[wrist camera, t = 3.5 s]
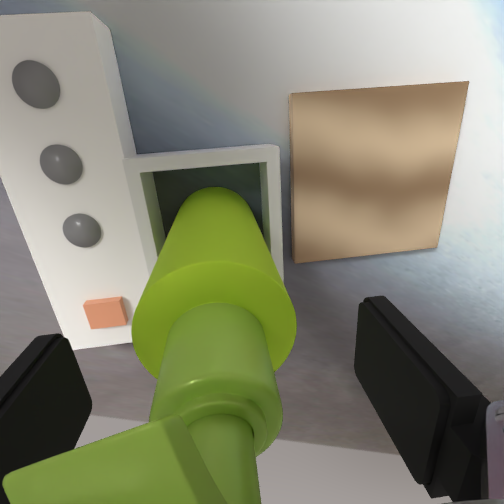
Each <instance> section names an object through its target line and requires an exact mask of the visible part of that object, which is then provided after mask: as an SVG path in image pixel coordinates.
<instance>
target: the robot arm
mask: <svg viewBox="0 0 504 504" xmlns="http://www.w3.org/2000/svg"><path fill="white" fill-rule="evenodd" d="M354 369H355V373H356V376H357V378H358V380H359V382H360V383H361V385H362V387H363V389H364V391H365V392H366V394H367V396H368V398H369V399H370V401H371V403H372V405H373V407H374V408H375V410H376V412H377V414H378V416H379V417H380V419H381V421H382V423H383V424H384V426H385V428H386V430H387V432H388V433H389V435H390V437H391V439H392V441H393V442H394V444H395V446H396V448H397V450H398V451H399V453H400V455H401V457H402V458H403V460H404V462H405V464H406V466H407V467H408V469H409V471H410V473H411V474H412V476H413V478H414V479H415V481H416V482H417V483H418V484H423V485H424V487H425V488H426V490H427V492H428V494H429V496H430V497H431V498H436V497H443V496H449V497H450V498H451V500H452V501H453V502H451V503H444V504H504V400H500V401H496V402H492V403H490V402H489V401H488V400H487V399H486V398H485V397H484V396H483V395H482V393H481V392H480V391H479V390H478V389H477V388H476V387H475V386H474V385H473V384H472V383H471V382H470V381H469V380H468V379H467V378H466V377H465V376H464V375H463V374H462V373H461V372H460V371H459V370H458V369H457V368H456V367H455V366H454V365H453V364H452V363H451V362H450V361H449V360H448V359H447V358H446V357H445V356H444V355H443V354H442V353H441V352H440V351H439V350H438V349H437V348H436V347H435V346H434V345H433V344H432V343H431V342H430V341H429V340H428V339H427V338H426V337H425V336H424V335H423V334H422V333H421V332H420V331H419V330H418V329H417V328H416V327H415V326H414V325H413V324H412V323H411V322H410V321H409V320H408V319H407V318H406V317H405V316H404V315H403V314H402V313H401V312H400V311H399V310H398V309H397V308H396V307H395V306H394V305H393V304H392V303H391V302H390V301H389V300H388V299H387V298H386V297H384V296H375V297H366V298H365V299H364V301H363V302H361V303H360V304H359V309H358V322H357V335H356V348H355V361H354ZM91 410H92V400H91V397H90V394H89V392H88V389H87V386H86V384H85V381H84V379H83V376H82V373H81V371H80V368H79V365H78V363H77V360H76V357H75V355H74V352H73V350H72V347H71V344H70V342H69V340H68V339H67V338H63V336H62V335H61V334H50V335H42V336H37V337H36V338H35V339H34V340H33V341H32V342H31V343H30V344H29V346H28V347H27V348H26V349H25V350H24V351H23V352H22V353H21V354H20V356H19V357H18V358H17V359H16V360H15V361H14V362H13V363H12V364H11V365H10V367H9V368H8V369H7V370H6V371H5V372H4V373H3V374H2V375H1V377H0V504H10V502H9V500H8V497H7V495H6V493H5V491H4V488H3V485H2V483H3V479H4V477H5V476H6V475H7V474H9V473H10V472H12V471H15V470H17V469H20V468H23V467H25V466H28V465H31V464H34V463H36V462H39V461H42V460H45V459H47V458H50V457H53V456H56V455H59V454H62V453H64V452H67V451H70V450H73V449H74V448H75V446H76V443H77V441H78V439H79V437H80V435H81V432H82V430H83V428H84V426H85V424H86V422H87V420H88V417H89V415H90V413H91Z"/></svg>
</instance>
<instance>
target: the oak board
mask: <svg viewBox="0 0 504 504" xmlns="http://www.w3.org/2000/svg"><path fill="white" fill-rule="evenodd" d="M468 85H469V81H464V82H449V83H434V84H420V85H405V86H390V87H376V88H361V89H346V90H332V91H317V92H302V93H292V94H290V95H289V124H290V180H291V236H292V260H293V261H294V263H295V264H296V263H305V262H314V261H322V260H331V259H340V258H349V257H357V256H366V255H375V254H384V253H392V252H401V251H410V250H419V249H427V248H436V247H437V246H438V241H439V235H440V230H441V225H442V220H443V215H444V209H445V204H446V199H447V194H448V189H449V184H450V178H451V173H452V168H453V163H454V158H455V153H456V147H457V142H458V137H459V132H460V127H461V121H462V116H463V111H464V106H465V101H466V96H467V90H468Z"/></svg>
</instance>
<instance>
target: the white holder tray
mask: <svg viewBox="0 0 504 504" xmlns="http://www.w3.org/2000/svg"><path fill="white" fill-rule="evenodd" d="M258 162H259V167H260V184H261V201H262V219H263V236H264V240H265V243H266V245H267V247H268V250H269V252H270V254H271V256H272V259H273V261H274V263H275V265H276V268H277V270H278V272H279V275H280V277H281V279H282V281H283V284H284V275H283V243H282V211H281V179H280V147H279V146H276V145H273V144H258V145H246V146H234V147H222V148H209V149H197V150H185V151H172V152H160V153H148V154H137V153H136V148H135V144H134V139H133V134H132V129H131V125H130V120H129V115H128V111H127V106H126V101H125V97H124V92H123V87H122V83H121V78H120V73H119V69H118V64H117V59H116V55H115V50H114V45H113V41H112V36H111V31H110V29H109V28H108V27H107V26H106V25H105V24H104V23H102V22H101V21H100V20H99V19H98V18H97V17H96V16H95V15H94V14H93V13H92V12H91V11H83V12H60V13H37V14H14V15H0V177H1V179H2V182H3V184H4V187H5V189H6V192H7V194H8V197H9V200H10V202H11V205H12V207H13V210H14V212H15V215H16V217H17V220H18V222H19V225H20V227H21V230H22V232H23V235H24V237H25V240H26V242H27V245H28V247H29V250H30V252H31V255H32V257H33V260H34V262H35V265H36V267H37V270H38V272H39V275H40V277H41V280H42V282H43V285H44V287H45V290H46V292H47V295H48V297H49V300H50V302H51V305H52V307H53V310H54V312H55V315H56V317H57V320H58V322H59V325H60V327H61V330H62V332H63V335H64V337H65V338H67V339H68V340H69V342H70V344H71V347H72V350H76V349H84V348H92V347H100V346H107V345H115V344H123V343H130V342H132V335H131V327H132V320H133V316H134V312H135V310H136V307H137V305H138V302H139V300H140V298H141V296H142V293H143V291H144V289H145V286H146V284H147V282H148V280H149V277H150V275H151V273H152V270H153V268H154V266H155V264H156V261H157V259H158V257H159V254H160V252H161V250H162V248H163V245H164V243H165V241H166V237H165V232H164V227H163V222H162V217H161V212H160V207H159V202H158V197H157V192H156V187H155V182H154V177H153V171H165V170H176V169H188V168H199V167H211V166H223V165H234V164H246V163H258Z"/></svg>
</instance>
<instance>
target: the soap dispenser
mask: <svg viewBox="0 0 504 504" xmlns="http://www.w3.org/2000/svg"><path fill="white" fill-rule="evenodd" d="M296 329H297V322H296V314H295V310H294V307H293V304H292V302H291V300H290V297H289V295H288V293H287V290H286V288H285V286H284V284H283V281H282V279H281V277H280V275H279V272H278V270H277V268H276V265H275V263H274V261H273V259H272V256H271V254H270V252H269V250H268V247H267V245H266V243H265V240H264V238H263V236H262V234H261V231H260V229H259V227H258V224H257V222H256V220H255V218H254V215H253V213H252V211H251V209H250V207H249V205H248V204H247V202H246V201H245V200H244V199H243V198H242V197H241V196H240V195H239V194H237V193H236V192H234V191H232V190H229V189H226V188H222V187H207V188H203V189H200V190H198V191H196V192H194V193H193V194H191V195H190V196H189V197H188V198H187V199H186V200H185V201H184V202H183V203H182V205H181V207H180V209H179V211H178V213H177V216H176V218H175V220H174V222H173V225H172V227H171V229H170V232H169V234H168V236H167V238H166V241H165V243H164V245H163V248H162V250H161V252H160V254H159V257H158V259H157V261H156V264H155V266H154V268H153V270H152V273H151V275H150V277H149V280H148V282H147V284H146V286H145V289H144V291H143V293H142V296H141V298H140V300H139V302H138V305H137V307H136V310H135V312H134V316H133V320H132V327H131V335H132V342H133V346H134V349H135V352H136V354H137V356H138V358H139V360H140V362H141V363H142V364H143V366H144V367H145V368H146V369H147V370H148V372H149V373H150V374H152V375H153V376H154V377H155V378H156V379H158V380H157V384H156V389H155V393H154V397H153V402H152V406H151V411H150V416H149V423H146V424H143V425H141V426H138V427H135V428H132V429H129V430H126V431H124V432H121V433H118V434H115V435H112V436H109V437H107V438H104V439H101V440H98V441H95V442H93V443H90V444H87V445H85V446H81V447H78V448H76V449H73V450H70V451H67V452H64V453H62V454H59V455H56V456H53V457H50V458H47V459H45V460H42V461H39V462H36V463H34V464H31V465H28V466H25V467H23V468H20V469H17V470H15V471H12V472H10V473H9V474H7V475H6V476H5V477H4V479H3V483H2V485H3V488H4V491H5V493H6V495H7V497H8V500H9V502H10V504H261V497H260V489H259V481H258V473H257V465H256V457H257V456H258V455H260V454H261V453H262V452H264V451H265V450H266V449H267V448H268V447H269V446H270V445H271V444H272V443H273V441H274V440H275V439H276V437H277V435H278V433H279V431H280V429H281V426H282V421H283V410H282V404H281V399H280V395H279V391H278V387H277V383H276V378H275V374H274V372H275V371H276V370H277V369H278V368H279V367H280V366H281V365H282V364H283V362H284V361H285V360H286V358H287V357H288V355H289V353H290V351H291V349H292V347H293V344H294V341H295V337H296Z"/></svg>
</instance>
